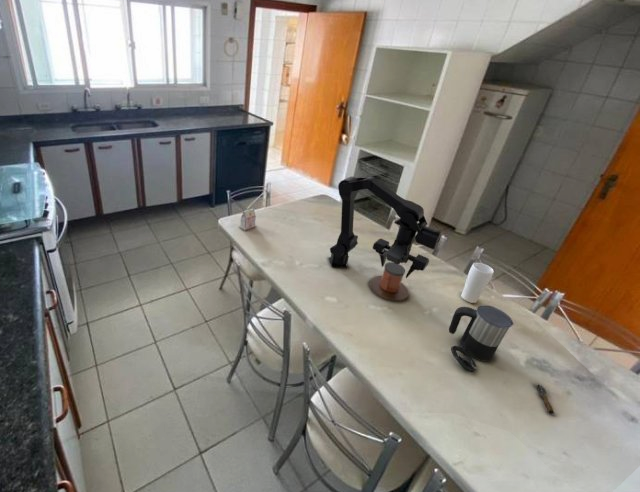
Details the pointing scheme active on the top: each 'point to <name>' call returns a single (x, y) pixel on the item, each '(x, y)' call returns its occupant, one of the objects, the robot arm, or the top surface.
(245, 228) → the milk carton
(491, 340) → the milk frother
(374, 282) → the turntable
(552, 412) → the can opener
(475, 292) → the drinking glass
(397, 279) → the orange mug
